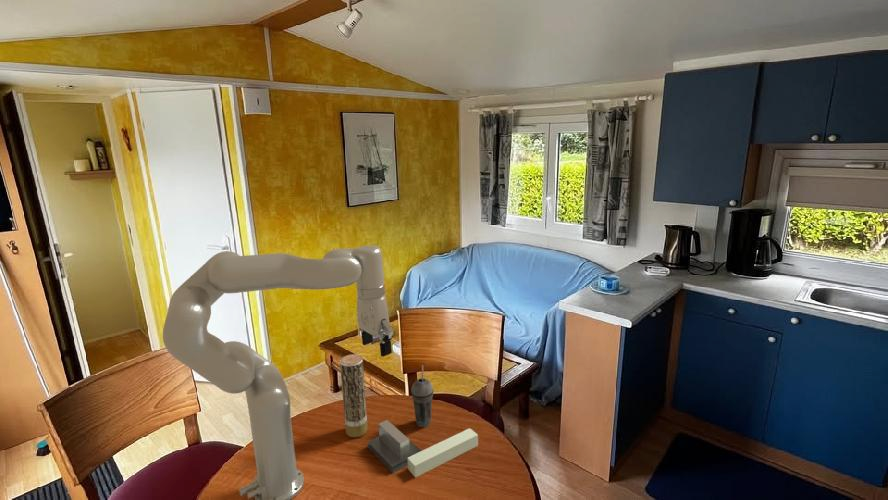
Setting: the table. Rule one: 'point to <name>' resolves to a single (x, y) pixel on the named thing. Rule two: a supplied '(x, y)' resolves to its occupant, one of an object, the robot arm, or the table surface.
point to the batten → (442, 452)
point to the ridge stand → (392, 447)
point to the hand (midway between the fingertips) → (376, 349)
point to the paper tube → (353, 395)
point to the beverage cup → (422, 401)
